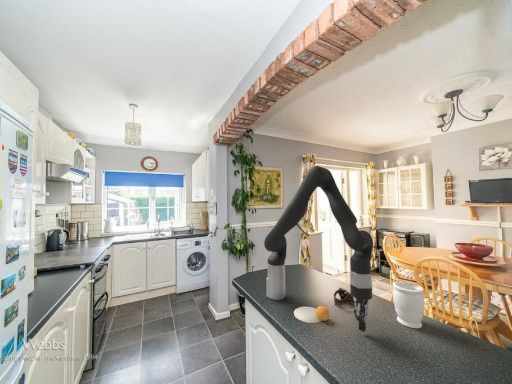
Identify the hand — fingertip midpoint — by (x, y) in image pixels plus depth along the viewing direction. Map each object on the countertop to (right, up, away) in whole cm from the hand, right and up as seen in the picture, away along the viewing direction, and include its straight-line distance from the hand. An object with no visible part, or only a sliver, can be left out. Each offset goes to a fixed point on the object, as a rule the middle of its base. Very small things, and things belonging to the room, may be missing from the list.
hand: (362, 330), depth 78 cm
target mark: (-17, -2, +14) cm, 22 cm away
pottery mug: (+3, -3, +23) cm, 23 cm away
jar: (+23, -2, +7) cm, 24 cm away
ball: (-12, +1, +10) cm, 15 cm away
